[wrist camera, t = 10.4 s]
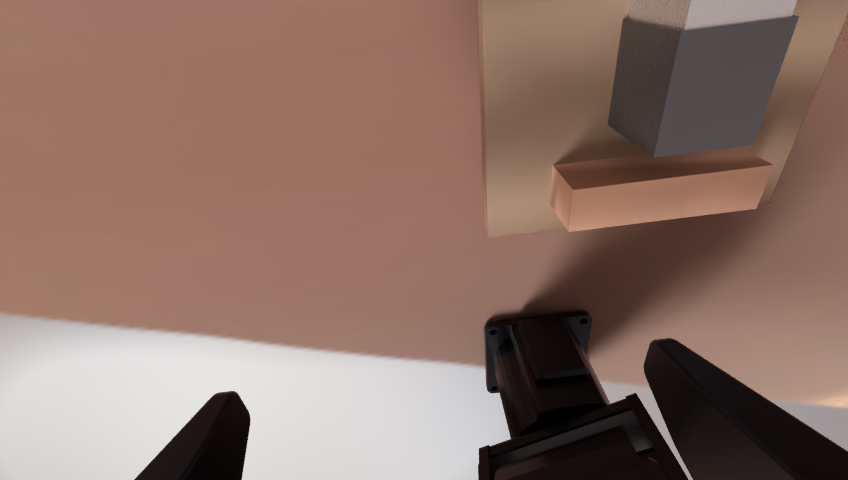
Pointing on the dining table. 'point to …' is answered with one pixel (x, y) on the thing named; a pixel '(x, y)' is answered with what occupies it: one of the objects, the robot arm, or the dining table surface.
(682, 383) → the robot arm
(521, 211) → the lock cradle
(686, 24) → the two-tone gray brick
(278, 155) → the dining table surface
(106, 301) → the dining table surface
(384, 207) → the dining table surface
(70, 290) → the dining table surface
